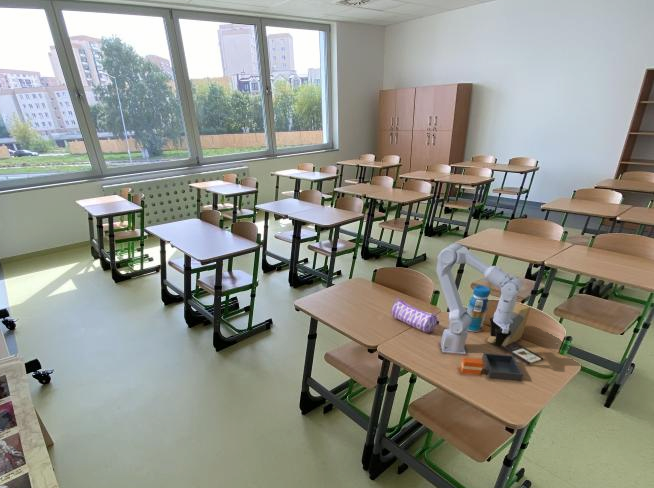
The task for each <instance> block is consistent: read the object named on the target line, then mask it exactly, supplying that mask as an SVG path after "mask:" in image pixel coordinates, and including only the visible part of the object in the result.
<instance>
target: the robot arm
mask: <svg viewBox="0 0 654 488" xmlns="http://www.w3.org/2000/svg"><path fill="white" fill-rule="evenodd" d="M460 264H465V265H467V266H469V267H471V268H472V269H475V270H476V271H478V272H479V273H481V274H483V278H484V280H486V281H487V282H489V283H490V284H492V285H493V286H495V287H496V288H498V289H500V292H501V294H500V296H499V299H498V302H497V306H496V310H495V311H494V314H493V317H490V318H489V322H490V335H491V336H494V337H496V339H495V345H494V346H495V347H497V346H501V345H502V344H503V342H504V341H505V339H506V338H507V337H508V336H509V335H511V331H509V325H510V323H513V321H512V320H510V319H511V316H512V313H513V310H514V307H515V303H517V298H518V296H519V291H520V290H522V286H523V282H522V280H521V279H520V278H519V276H516V275H515V276H513V275H512V274H508V273H507V272H506V271H504V270H503V268H502V267H501V266H499V265H498V266H496V265H489V264H488V263H486V262H485V261H484V260H482V259H481V258H480V257H478V256H477V255H476V254H474V253H473V252H471V251H470V250H469V249H468V248H467V247H466V246H463V245H462V244H460V243H459V242H453V243H451V244H450V245H448V246H447V247H445V248H443V249H442V250H441V251H440V252H439V254H438V255H437V263H436V269H435V271H436V275H437V278H438V281H439V284H440V286H441V290H442V292H443V296H444V299H445V302H446V304H447V307H448V310H449V314H448V321H449V326H448V327H449V328H444V329H443V332H442V336H441V340H440V347H441V351H442V353H445V354H446V353H449V354H450V353H451V354H462V355H466V354H467V352H466V349H465V346H466V342H467V338H468V333H469V331H468V326H469V325H470V324H471V322H472V317H471V316H470V314H469V313H468V312H467V309H468V308H466V307H464V305H463V303H462V300H461V296H460V293H459V290H458V287H457V285H456V281H455V279H454V275H453V272H452V269H453V267H454V266H455V265H460ZM500 328H501V329H500Z"/></svg>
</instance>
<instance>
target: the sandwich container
mask: <svg viewBox="0 0 654 488" xmlns="http://www.w3.org/2000/svg"><path fill="white" fill-rule="evenodd" d="M530 312H531V307H530V306H527V305H524V304H521V303H518V302H516V303H515V307H514V310H513V313H512V316H511V319H510V320H512V321H513V323H510V325H509V331H511V335H509V336H508V337H507V338H506V339H505V341H504V342H503V344H502V346H507V345H509V344H510V343H512V342H515V343H517V342H518V341H519V340H520V339H522V336H523V333H524V330H525V328H526V325H527V321H528V318H529V314H530ZM500 329H501V328H500ZM495 339H496V337H494V336H491V334H490V335H489V337H488V338H487V340H486V343H490V344H492V345H493V343H494V342H495Z"/></svg>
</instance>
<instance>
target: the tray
mask: <svg viewBox="0 0 654 488" xmlns="http://www.w3.org/2000/svg"><path fill="white" fill-rule="evenodd" d="M481 359H482V361H483V367H484V370H485V372H486V375H487V378H488V379H492V380H503V381H513V382H514V381H515V382H522V379H523V376H524V374H523V371H522V370H521V367H520V366H519V363H518V361H517V360H516V357H514V356H513V355H511V354H499V353H488V352H483V353H482V357H481Z"/></svg>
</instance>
